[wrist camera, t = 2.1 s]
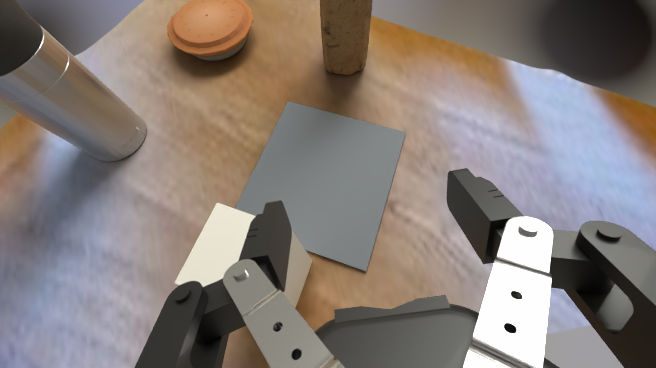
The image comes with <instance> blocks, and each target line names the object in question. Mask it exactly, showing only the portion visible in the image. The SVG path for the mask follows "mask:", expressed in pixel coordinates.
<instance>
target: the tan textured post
mask: <svg viewBox="0 0 656 368" xmlns="http://www.w3.org/2000/svg"><path fill="white" fill-rule="evenodd" d="M371 10H372V0H320V16H321V33H322V45H323V55H324V63H325V67H326V69H327V70H328V71H329V72H332V73H333V72H334V73H336V74H343V75H350V74H353V73H354V72H356V71H360V70H362V69H363V68H364V67H365V64H366V58H367V50H368V43H369V31H370V20H371Z"/></svg>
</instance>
